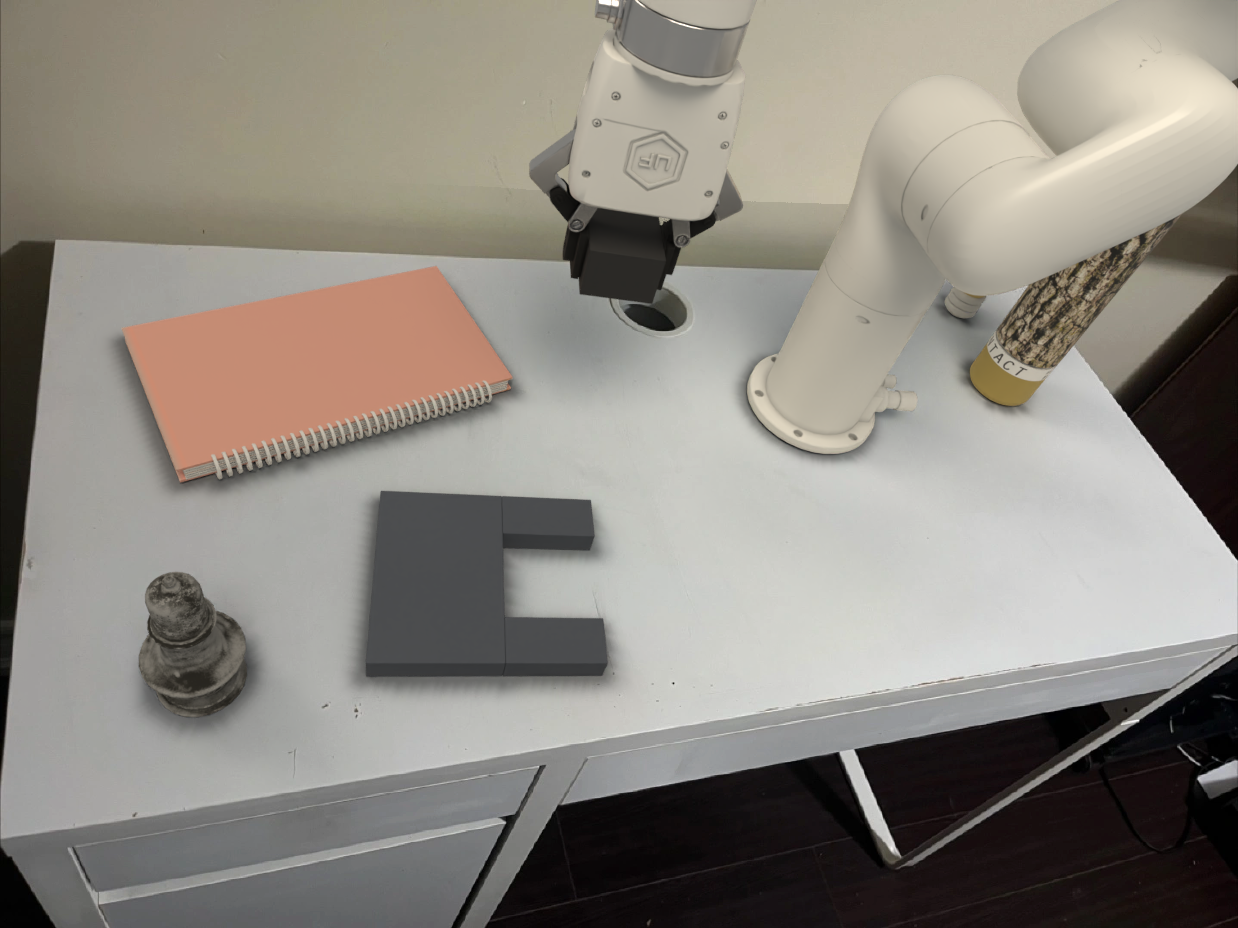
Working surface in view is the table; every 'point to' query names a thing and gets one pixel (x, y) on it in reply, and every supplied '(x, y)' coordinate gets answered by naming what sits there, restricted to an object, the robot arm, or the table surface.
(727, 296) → the table surface
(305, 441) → the notebook
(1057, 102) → the robot arm
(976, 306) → the light bulb
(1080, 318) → the paper tube
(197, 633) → the chess piece
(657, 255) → the pad piece
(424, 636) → the gray notched slab
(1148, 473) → the table surface
